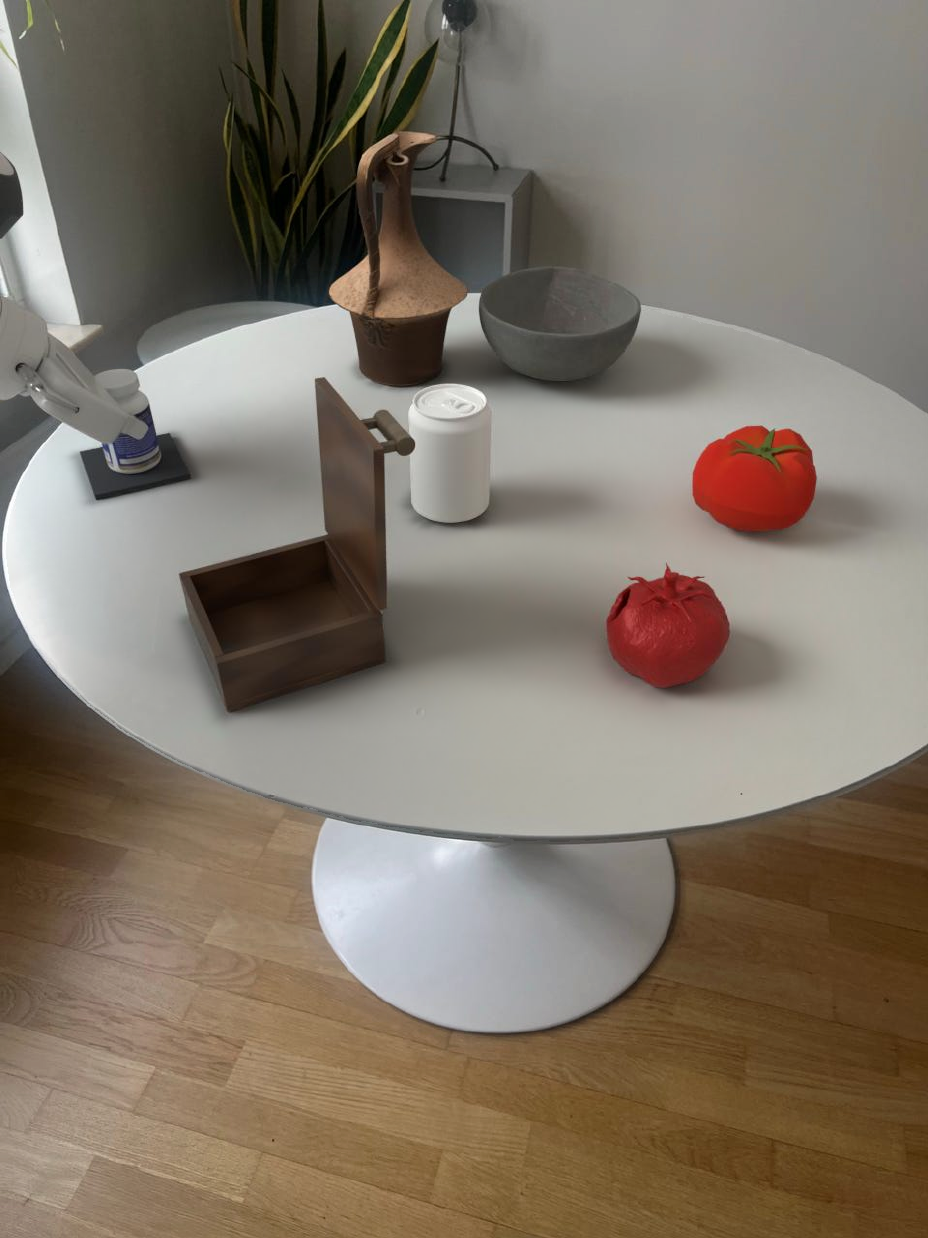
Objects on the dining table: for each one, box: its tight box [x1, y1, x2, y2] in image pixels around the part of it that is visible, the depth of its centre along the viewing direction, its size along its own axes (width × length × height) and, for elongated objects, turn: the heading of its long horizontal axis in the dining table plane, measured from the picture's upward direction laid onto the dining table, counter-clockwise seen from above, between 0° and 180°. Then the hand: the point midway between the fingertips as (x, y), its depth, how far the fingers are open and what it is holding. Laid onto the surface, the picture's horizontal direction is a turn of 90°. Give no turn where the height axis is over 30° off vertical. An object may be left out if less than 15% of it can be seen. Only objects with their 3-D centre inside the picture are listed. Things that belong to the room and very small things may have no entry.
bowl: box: [478, 266, 642, 382], centre depth 118 cm, size 20×20×10 cm
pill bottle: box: [93, 368, 161, 474], centre depth 99 cm, size 6×6×10 cm
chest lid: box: [314, 376, 415, 611], centre depth 75 cm, size 14×13×5 cm
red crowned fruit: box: [605, 562, 731, 688], centre depth 76 cm, size 10×10×9 cm
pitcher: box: [328, 130, 469, 386], centre depth 113 cm, size 18×17×28 cm
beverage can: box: [407, 383, 493, 524], centre depth 93 cm, size 8×8×12 cm
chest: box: [178, 533, 386, 713], centre depth 79 cm, size 14×13×5 cm
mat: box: [79, 432, 192, 501], centre depth 102 cm, size 10×10×1 cm
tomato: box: [691, 425, 818, 532], centre depth 93 cm, size 13×12×8 cm
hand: (129, 415), depth 99 cm, fingers open, 7 cm apart
